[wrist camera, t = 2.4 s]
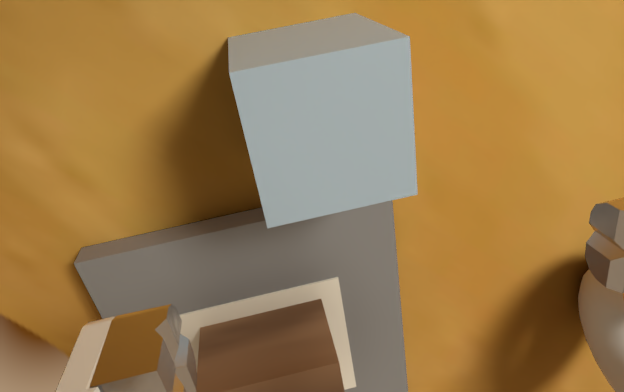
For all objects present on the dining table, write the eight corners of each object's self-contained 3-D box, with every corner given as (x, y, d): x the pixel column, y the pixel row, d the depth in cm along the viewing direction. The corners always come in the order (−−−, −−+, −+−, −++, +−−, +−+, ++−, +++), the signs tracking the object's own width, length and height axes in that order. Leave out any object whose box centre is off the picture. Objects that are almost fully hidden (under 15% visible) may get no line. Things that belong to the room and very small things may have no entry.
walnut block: (200, 327, 22) (195, 398, 18) (321, 298, 22) (339, 362, 19) (230, 406, 25) (231, 480, 21) (337, 379, 25) (354, 447, 22)
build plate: (81, 247, 20) (73, 265, 19) (383, 180, 21) (392, 192, 20) (186, 455, 28) (184, 477, 27) (403, 399, 29) (410, 417, 28)
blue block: (227, 37, 17) (228, 72, 12) (354, 12, 18) (409, 36, 12) (256, 155, 20) (267, 228, 14) (367, 132, 20) (417, 194, 15)
